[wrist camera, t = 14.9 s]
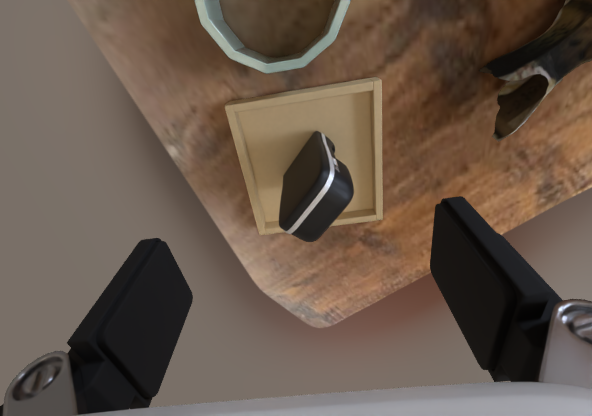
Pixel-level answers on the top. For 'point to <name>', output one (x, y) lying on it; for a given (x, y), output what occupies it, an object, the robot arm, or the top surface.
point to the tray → (296, 132)
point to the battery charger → (314, 190)
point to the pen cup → (236, 51)
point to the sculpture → (541, 65)
